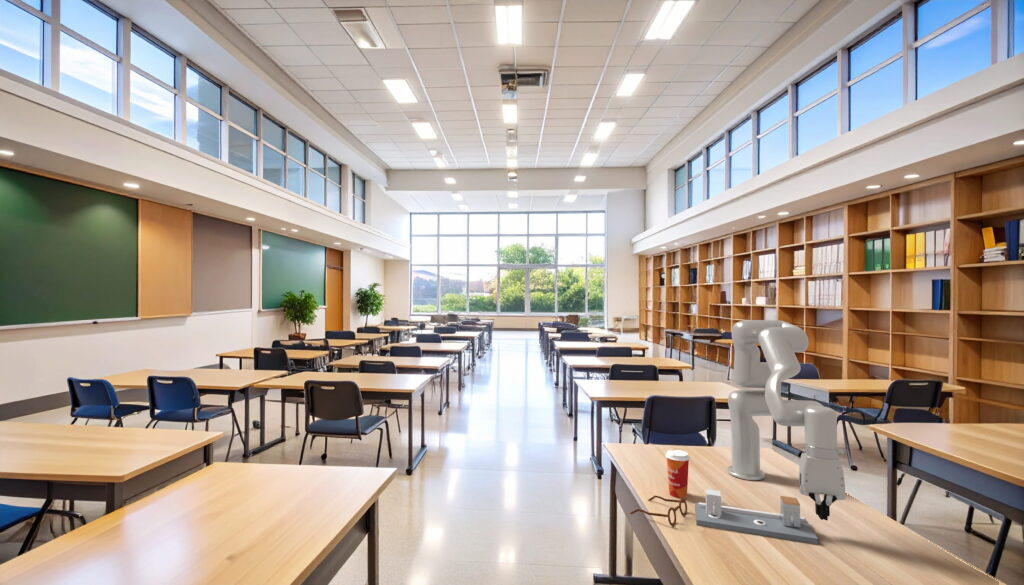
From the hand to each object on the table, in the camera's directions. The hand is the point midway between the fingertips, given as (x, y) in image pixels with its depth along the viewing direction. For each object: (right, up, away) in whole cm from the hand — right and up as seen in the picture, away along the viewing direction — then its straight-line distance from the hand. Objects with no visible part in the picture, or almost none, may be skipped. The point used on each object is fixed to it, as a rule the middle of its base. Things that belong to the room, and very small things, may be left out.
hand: (822, 517), depth 123 cm
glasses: (-41, -6, +13) cm, 44 cm away
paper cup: (-31, -6, +26) cm, 40 cm away
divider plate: (-17, -5, +6) cm, 18 cm away
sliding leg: (-7, -3, +2) cm, 8 cm away
